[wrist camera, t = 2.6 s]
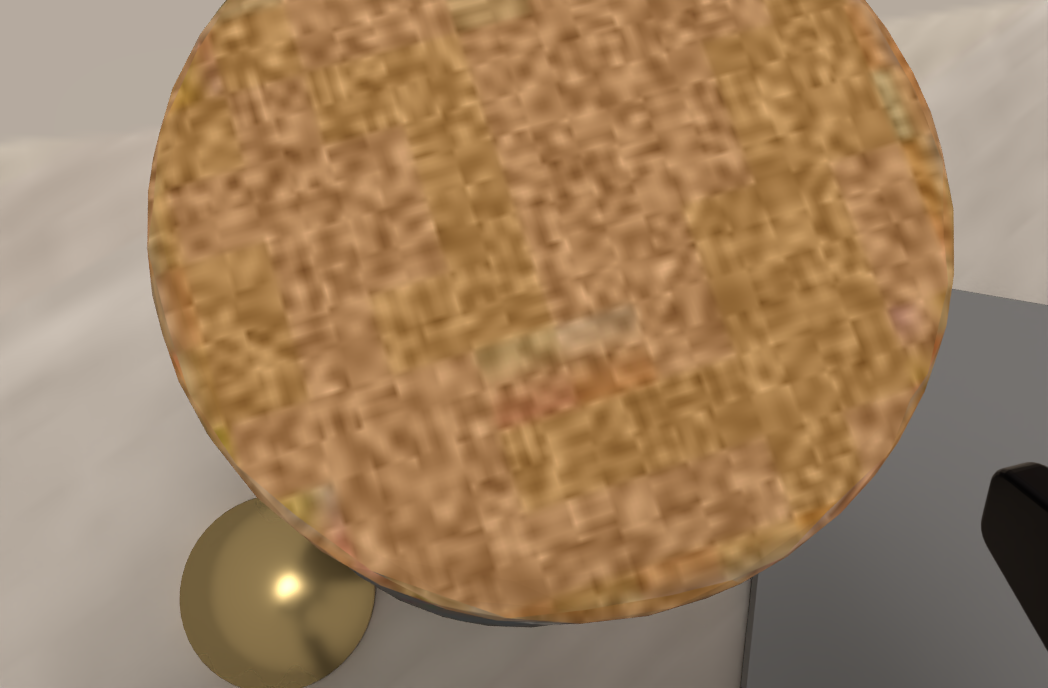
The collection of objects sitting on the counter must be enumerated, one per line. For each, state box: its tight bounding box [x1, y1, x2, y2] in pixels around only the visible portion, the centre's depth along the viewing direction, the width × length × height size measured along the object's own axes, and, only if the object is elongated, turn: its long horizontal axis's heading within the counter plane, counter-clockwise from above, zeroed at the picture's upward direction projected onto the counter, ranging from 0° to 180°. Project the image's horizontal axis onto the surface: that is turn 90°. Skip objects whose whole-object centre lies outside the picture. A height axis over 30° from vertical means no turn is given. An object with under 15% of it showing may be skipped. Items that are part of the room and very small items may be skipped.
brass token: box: [180, 498, 375, 688], centre depth 19 cm, size 4×4×1 cm
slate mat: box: [741, 289, 1048, 688], centre depth 20 cm, size 12×12×1 cm
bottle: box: [147, 0, 954, 627], centre depth 12 cm, size 6×6×15 cm
